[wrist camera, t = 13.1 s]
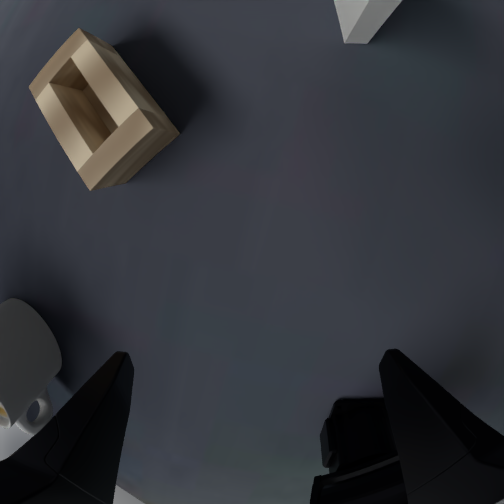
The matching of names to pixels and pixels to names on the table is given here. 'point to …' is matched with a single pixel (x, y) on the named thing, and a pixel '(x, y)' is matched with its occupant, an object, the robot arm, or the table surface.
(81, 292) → the table surface
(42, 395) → the coffee mug
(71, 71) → the oak box
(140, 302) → the table surface
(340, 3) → the cover plate
